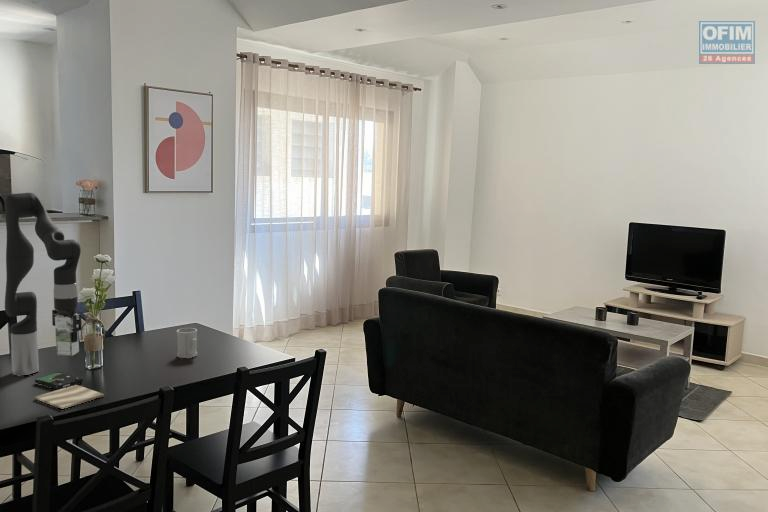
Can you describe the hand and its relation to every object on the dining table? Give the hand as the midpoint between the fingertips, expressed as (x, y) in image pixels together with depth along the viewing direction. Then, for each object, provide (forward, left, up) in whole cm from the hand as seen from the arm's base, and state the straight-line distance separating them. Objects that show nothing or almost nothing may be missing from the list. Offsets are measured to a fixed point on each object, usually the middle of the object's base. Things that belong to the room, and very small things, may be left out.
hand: (67, 340), depth 223 cm
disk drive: (-18, +7, -23) cm, 30 cm away
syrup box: (0, 0, -5) cm, 5 cm away
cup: (-7, +61, -22) cm, 65 cm away
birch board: (0, 0, -22) cm, 22 cm away
